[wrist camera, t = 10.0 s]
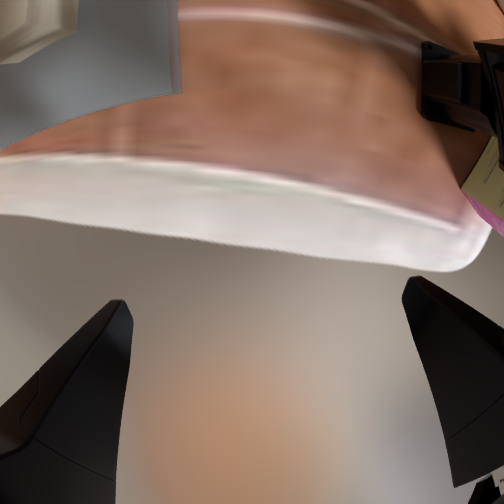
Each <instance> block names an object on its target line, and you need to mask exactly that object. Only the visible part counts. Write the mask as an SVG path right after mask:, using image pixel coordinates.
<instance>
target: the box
mask: <svg viewBox="0 0 504 504" xmlns="http://www.w3.org/2000/svg"><path fill="white" fill-rule="evenodd" d="M498 160H499V148H498V139H497V138H496V137H494V136H492V137H491V139H490V141H489V143H488V145H487V147H486V148H485V150H484V152H483V154H482V155H481V157H480V159H479V161H478V162H477V164H476V166H475V167H474V169H473V170H472V172H471V174H470V175H469V177H468V178H467V180H466V181H465V183H463V185H462V187H461V190H462V192H463V193H464V194H465V196H466V197H467V198H468V200H469V201H470V203H471V204H472V205H473V207H474V208H475V210H476V211H477V213H478V214H479V216H480V217H481V218H482V219H484V220H485V221H486V222H487V223H488V224H489V225H491V226H492V227H493V228H494V229H495V230H496V231H498V232H499V233H500V234H501V235H502V236H503V237H504V172H503V171H502V170H501V169H500V168H499V162H498Z"/></svg>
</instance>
